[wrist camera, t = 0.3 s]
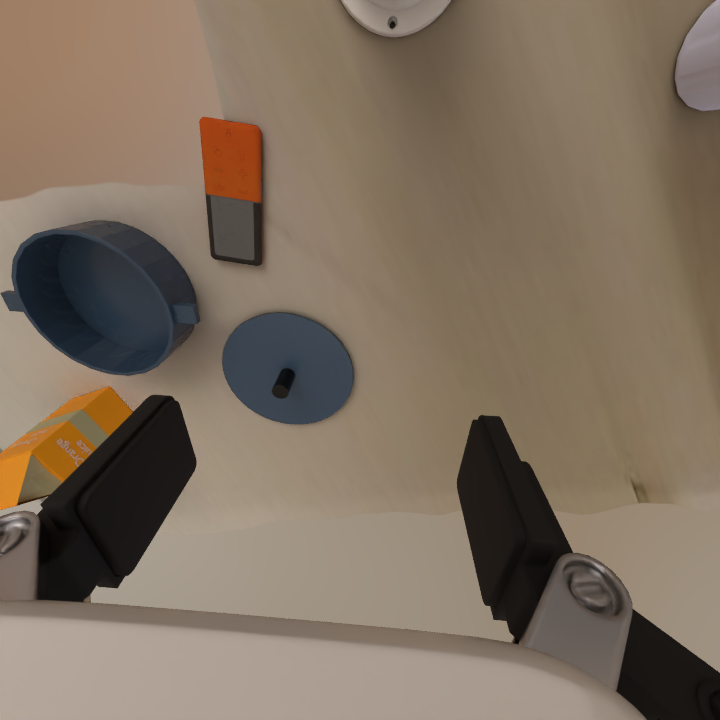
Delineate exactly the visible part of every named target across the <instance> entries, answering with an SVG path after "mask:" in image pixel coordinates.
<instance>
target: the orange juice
mask: <svg viewBox="0 0 720 720" xmlns="http://www.w3.org/2000/svg"><path fill="white" fill-rule="evenodd" d="M132 413H133V412H132V411H131V410H130V408H129V407H128V406H127V405H126V404H125V403H124V402H123V401H122V399H121V398H120V397H119V396H118V395H117V394H116V393H115V392H114V391H113V389H112V388H111V387H110V386H109V387H106V388H103V389H100V390H97V391H94V392H91V393H88V394H85V395H82V396H79V397H76V398H73V399H71V400H70V401H68V402H67V403H66V404H64V405H63V406H62V407H60V408H59V409H58V410H56V411H55V412H54V413H53V414H51V415H50V416H49V417H47V418H46V419H45V420H43V421H42V422H40V423H39V424H38V425H36V426H35V427H34V428H32V429H31V430H30V431H29V432H27V433H26V434H25V435H24V436H23V437H21V438H20V439H19V440H17V441H16V442H15V443H13V444H12V445H11V446H9V447H8V448H7V449H6V450H4V451H3V452H2V453H0V510H2V509H6V508H10V507H14V506H17V505H20V504H23V503H27V502H31V501H34V500H37V499H40V498H44V497H47V496H50V495H51V494H52V493H53V492H54V491H55V490H56V489H57V488H58V487H59V486H60V485H61V484H62V483H63V482H64V481H65V480H66V479H67V478H68V477H69V476H70V475H71V474H72V473H73V472H74V471H75V470H76V469H77V468H78V467H79V466H80V465H81V464H82V463H83V462H84V461H85V460H86V459H87V458H88V457H89V456H90V455H91V454H92V453H93V452H94V451H95V450H96V449H97V448H98V447H99V446H100V445H101V444H102V443H103V442H104V441H105V440H106V439H107V438H108V437H109V436H110V435H111V434H112V433H113V432H114V431H115V430H116V429H117V428H118V427H119V426H120V425H121V424H122V423H123V422H124V421H125V420H126V419H127V418H128V417H129V416H130V415H131V414H132Z"/></svg>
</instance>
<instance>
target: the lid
mask: <svg viewBox="0 0 720 720" xmlns="http://www.w3.org/2000/svg"><path fill="white" fill-rule="evenodd" d="M222 363H223V371H224V374H225V378H226V380H227V382H228V385H229V386H230V388H231V390H232V391H233V393H234V394H235V395H236V397H237V398H238V399H239V400H240V401H241V402H242V403H243V404H245V405H246V406H247V407H248V408H249V409H251V410H252V411H254V412H255V413H257V414H259V415H261V416H263V417H265V418H268V419H270V420H273V421H276V422H281V423H286V424H309V423H314V422H317V421H321V420H323V419H325V418H328V417H329V416H331V415H333V414H334V413H335V412H337V411H338V410H339V409H340V408H341V407H342V406H343V405H344V403H345V402H346V400H347V399H348V397H349V395H350V392H351V389H352V385H353V367H352V363H351V360H350V357H349V355H348V353H347V351H346V349H345V347H344V346H343V344H342V343H341V342H340V341H339V339H338V338H337V337H336V336H335V335H334V334H333V333H332V332H330V331H329V330H328V329H327V328H325V327H324V326H322V325H321V324H319V323H317V322H315V321H313V320H311V319H309V318H306V317H303V316H300V315H296V314H290V313H267V314H263V315H259V316H256V317H253V318H251V319H249V320H247V321H245V322H244V323H242V324H241V325H240V326H239V327H237V328H236V329H235V331H234V332H233V333H232V334H231V335H230V337H229V339H228V340H227V342H226V345H225V347H224V352H223V361H222Z"/></svg>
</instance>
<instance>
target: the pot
mask: <svg viewBox="0 0 720 720" xmlns="http://www.w3.org/2000/svg"><path fill="white" fill-rule="evenodd" d="M11 277H12V282H13V286H14V290H15V291H5V292H2V293H1V295H2V297H3V299H4V301H5V303H6V305H7V307H8V309H9V311H19V312H24V313H25V315H26V316H27V318H28V319H29V320H30V322H31V323H32V324H33V326H34V327H35V328H36V329H37V331H38V332H39V333H40V334H41V335H42V336H43V337H44V338H45V339H46V340H47V341H48V342H49V343H51V344H52V345H53V346H54V347H55V348H56V349H58V350H59V351H61V352H62V353H63V354H65V355H66V356H68V357H69V358H71V359H72V360H74V361H76V362H78V363H80V364H83V365H85V366H87V367H89V368H91V369H94V370H97V371H101V372H105V373H108V374H114V375H127V376H128V375H135V374H141V373H146V372H148V371H150V370H152V369H154V368H156V367H158V366H159V365H160V364H161V363H162V362H163V361H164V360H165V359H166V358H167V357H169V356H170V355H171V354H172V353H173V352H174V351H175V350H176V349H177V348H178V347H179V346H181V344H182V343H183V342H184V341H185V340H186V339H187V338H188V337H189V336H190V334H191V333H192V331H193V329H194V326H195V324H198V323H199V322H200V317H199V312H198V308H197V302H196V297H195V293H194V289H193V287H192V285H191V282H190V280H189V278H188V276H187V274H186V273H185V271H184V269H183V268H182V267H181V265H180V264H179V262H178V261H177V260H176V259H175V258H174V256H173V255H172V254H171V253H170V252H169V251H168V250H167V249H166V248H165V247H164V246H162V245H161V244H160V243H159V242H157V241H156V240H155V239H153V238H152V237H150V236H149V235H147V234H145V233H144V232H142V231H140V230H138V229H136V228H133V227H131V226H128V225H125V224H122V223H118V222H112V221H89V222H84V223H80V224H75V225H70V226H66V227H61V228H56V229H52V230H48V231H44V232H40V233H36V234H34V235H32V236H31V237H30V238H28V239H27V240H26V241H24V242H23V243H22V244H21V245H20V247H19V248H18V250H17V252H16V254H15V256H14V258H13V264H12V276H11Z"/></svg>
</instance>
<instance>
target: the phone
mask: <svg viewBox="0 0 720 720" xmlns="http://www.w3.org/2000/svg"><path fill="white" fill-rule="evenodd" d="M200 134H201V144H202V145H201V146H202V157H203V169H204V179H205V192H206V203H207V215H208V226H209V238H210V250H211V256H212V258H214V259H217V260H223V261H229V262H236V263H242V264H248V265H255V266H259V265H261V264H262V179H261V130H260V128H259V127H258V126H256V125H250V124H244V123H238V122H231V121H226V120H221V119H215V118H208V117H202V118H201V119H200Z"/></svg>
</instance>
